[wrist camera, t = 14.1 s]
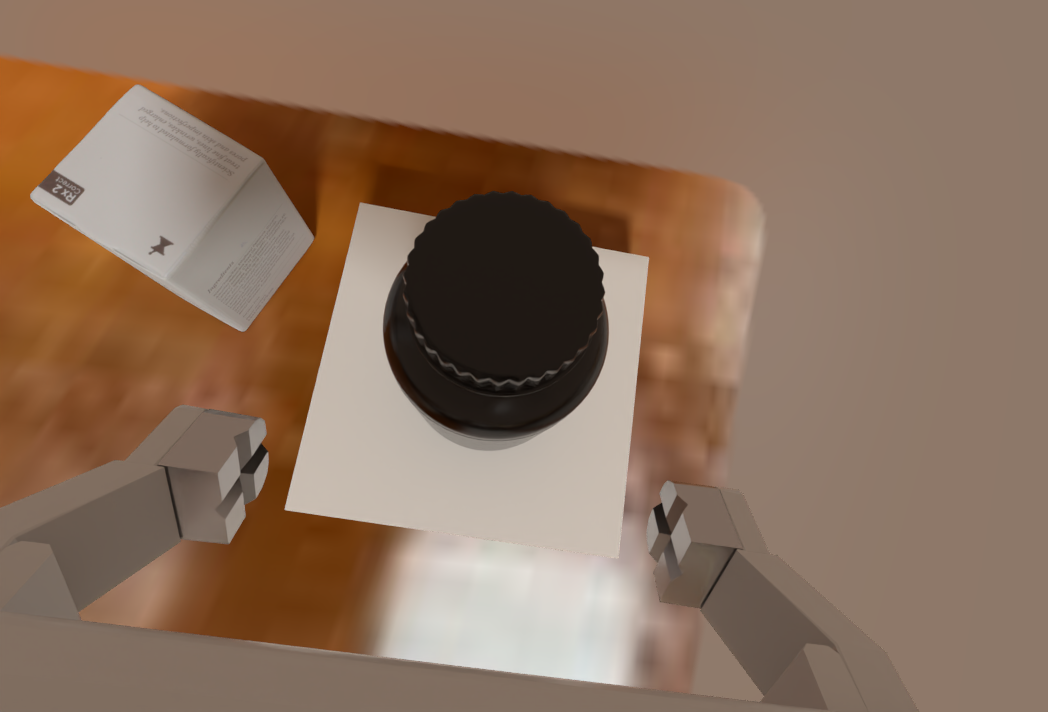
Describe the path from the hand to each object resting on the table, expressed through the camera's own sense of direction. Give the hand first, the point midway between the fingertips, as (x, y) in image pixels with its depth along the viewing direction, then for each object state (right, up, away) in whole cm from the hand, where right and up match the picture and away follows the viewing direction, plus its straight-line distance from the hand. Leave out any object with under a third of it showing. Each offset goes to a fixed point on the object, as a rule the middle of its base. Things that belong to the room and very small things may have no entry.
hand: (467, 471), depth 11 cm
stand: (-1, +1, +16) cm, 16 cm away
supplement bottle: (-1, +1, +13) cm, 13 cm away
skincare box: (-14, +7, +16) cm, 22 cm away
